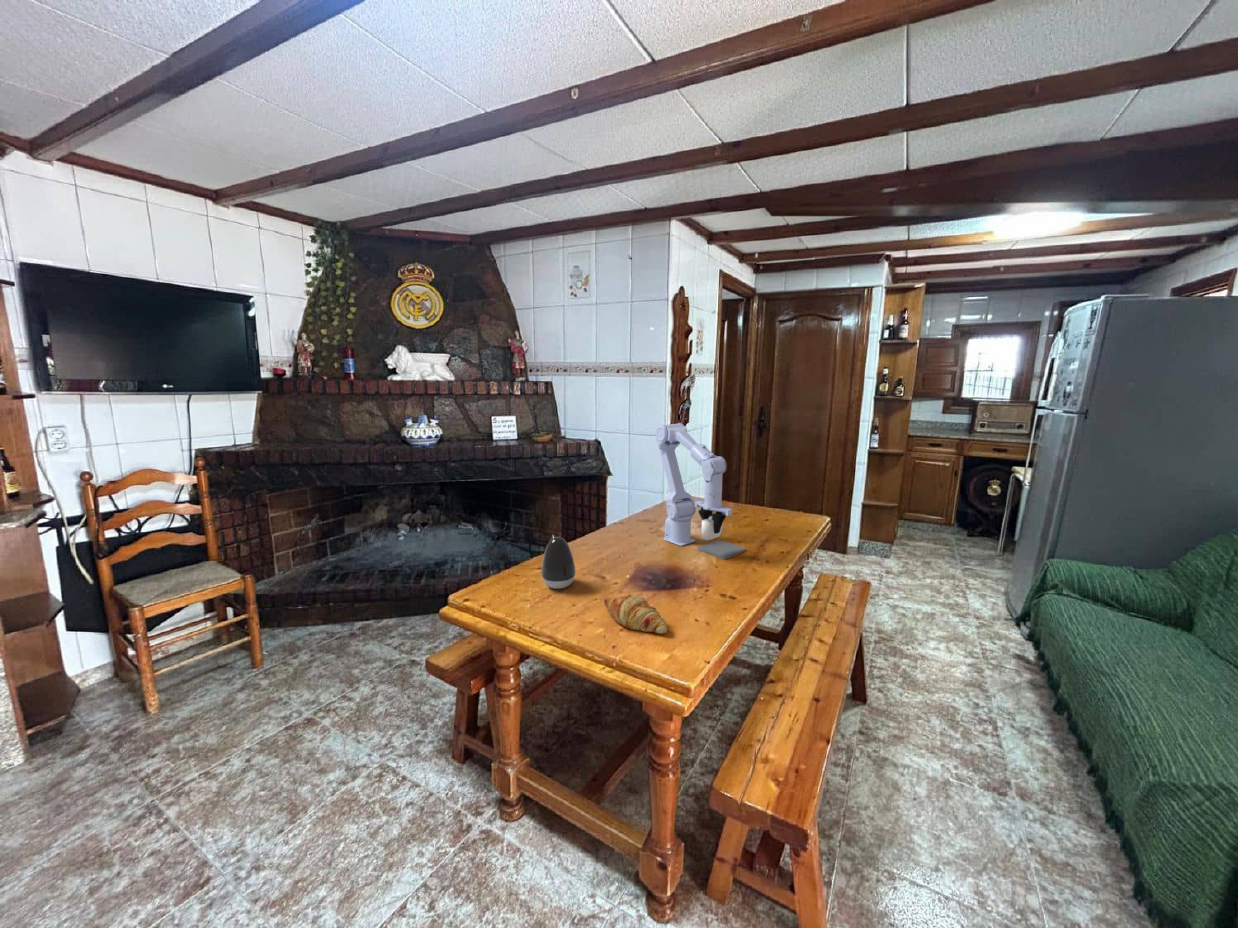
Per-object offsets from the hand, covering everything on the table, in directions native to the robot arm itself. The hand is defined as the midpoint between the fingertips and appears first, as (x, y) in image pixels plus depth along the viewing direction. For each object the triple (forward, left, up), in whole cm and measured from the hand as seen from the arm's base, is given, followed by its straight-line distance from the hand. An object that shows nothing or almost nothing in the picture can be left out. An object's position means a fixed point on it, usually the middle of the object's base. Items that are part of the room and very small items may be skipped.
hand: (712, 531), depth 171 cm
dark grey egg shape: (-16, -52, -9) cm, 55 cm away
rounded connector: (0, 0, -2) cm, 2 cm away
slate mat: (-1, +7, -9) cm, 11 cm away
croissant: (+15, -50, -9) cm, 53 cm away
